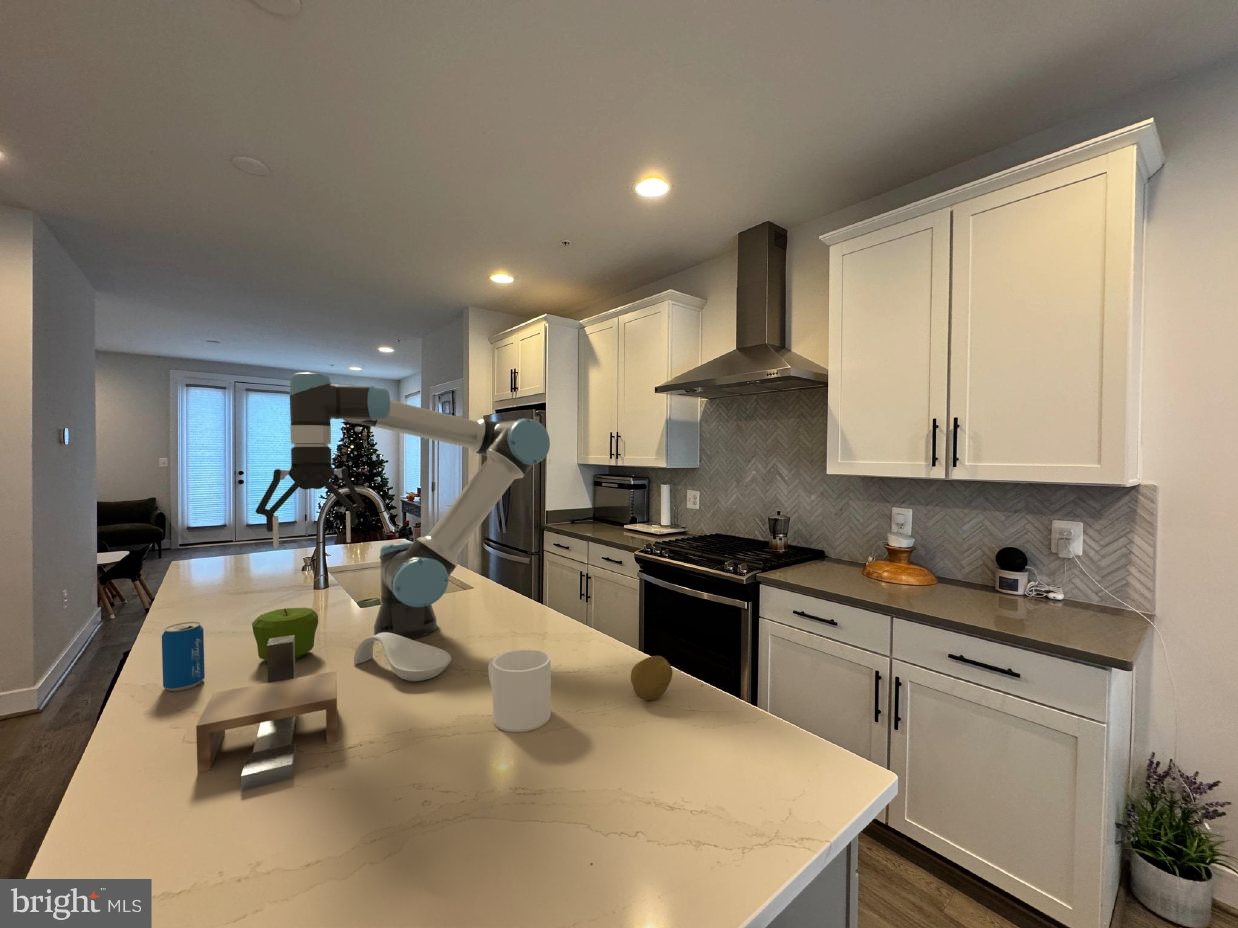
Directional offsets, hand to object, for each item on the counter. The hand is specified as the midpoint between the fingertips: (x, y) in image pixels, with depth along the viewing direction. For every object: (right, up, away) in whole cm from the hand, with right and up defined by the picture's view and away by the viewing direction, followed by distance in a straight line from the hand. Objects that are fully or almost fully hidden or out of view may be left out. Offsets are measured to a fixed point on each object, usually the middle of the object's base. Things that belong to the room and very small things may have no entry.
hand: (313, 544), depth 115 cm
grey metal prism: (+8, -27, -24) cm, 37 cm away
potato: (+72, -27, -15) cm, 79 cm away
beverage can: (-21, -27, -8) cm, 35 cm away
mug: (+48, -27, -21) cm, 59 cm away
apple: (-9, -27, +6) cm, 29 cm away
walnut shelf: (+10, -27, -28) cm, 40 cm away
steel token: (+15, -28, -38) cm, 49 cm away
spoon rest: (+19, -27, -2) cm, 33 cm away
